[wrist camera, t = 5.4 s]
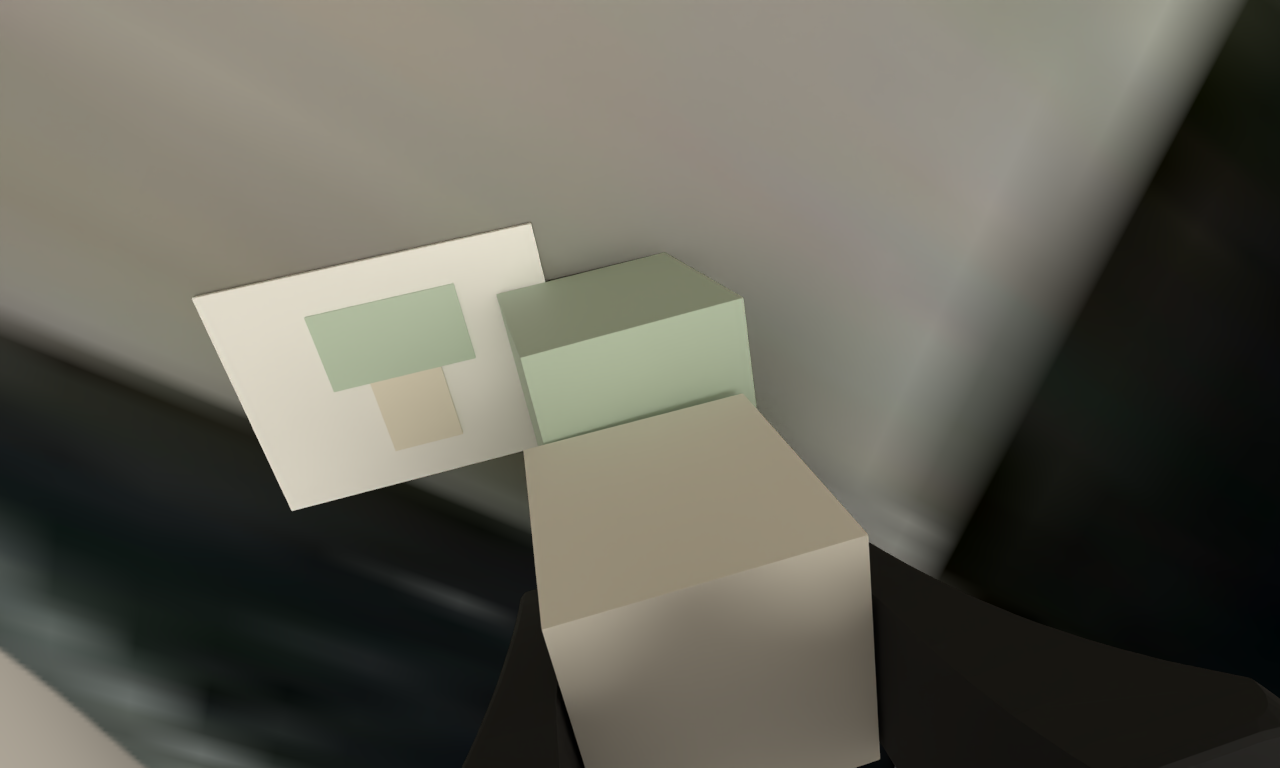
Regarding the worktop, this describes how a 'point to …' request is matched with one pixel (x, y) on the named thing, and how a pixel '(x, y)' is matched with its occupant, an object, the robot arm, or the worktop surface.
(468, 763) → the robot arm
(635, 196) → the worktop surface
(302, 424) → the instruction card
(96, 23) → the worktop surface
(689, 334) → the sage brick
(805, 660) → the ivory brick
